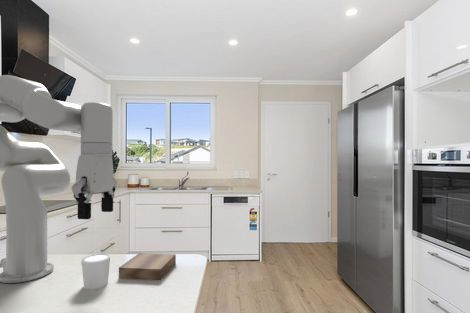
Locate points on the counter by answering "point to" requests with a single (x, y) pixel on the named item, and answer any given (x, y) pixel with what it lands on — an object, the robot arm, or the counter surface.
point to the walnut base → (147, 266)
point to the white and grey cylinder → (95, 271)
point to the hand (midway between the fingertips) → (96, 215)
